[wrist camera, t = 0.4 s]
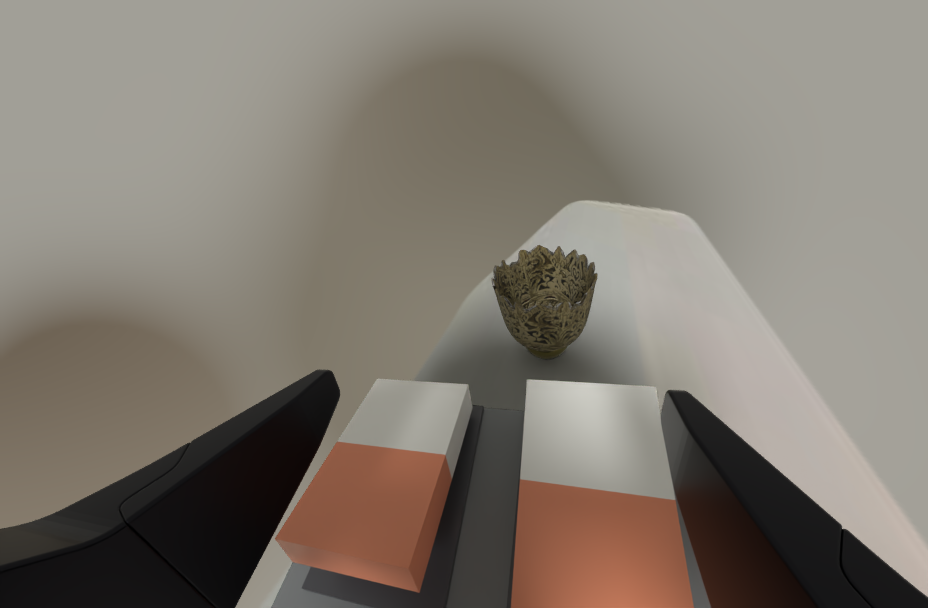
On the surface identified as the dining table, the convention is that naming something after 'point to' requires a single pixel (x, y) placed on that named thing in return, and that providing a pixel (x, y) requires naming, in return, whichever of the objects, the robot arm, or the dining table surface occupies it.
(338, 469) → the block
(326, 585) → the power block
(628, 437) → the block
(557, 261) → the cup
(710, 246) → the dining table surface
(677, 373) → the dining table surface
